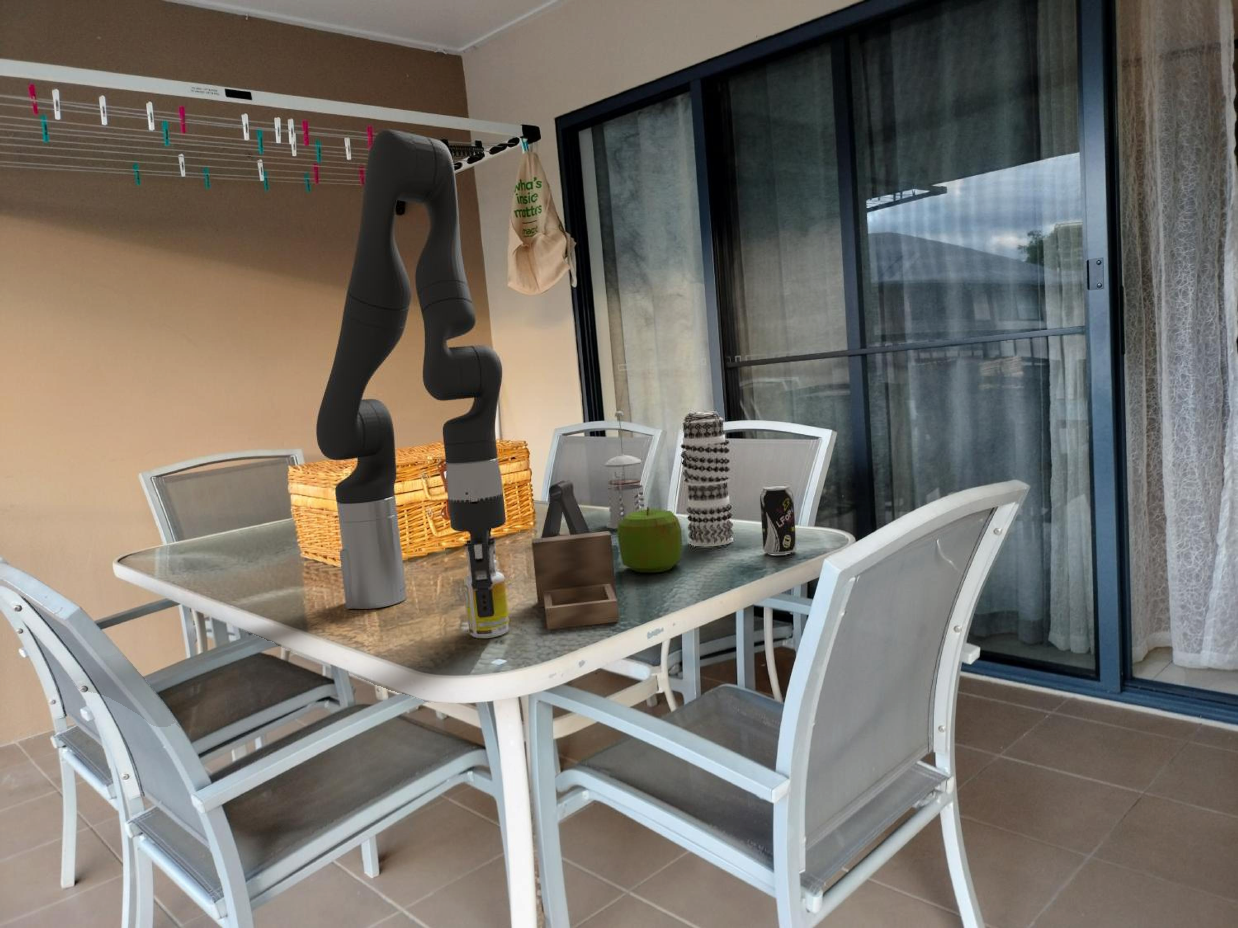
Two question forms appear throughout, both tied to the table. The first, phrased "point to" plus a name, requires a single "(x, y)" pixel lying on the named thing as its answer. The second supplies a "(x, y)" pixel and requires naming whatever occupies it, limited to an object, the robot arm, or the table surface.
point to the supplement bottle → (499, 620)
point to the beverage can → (778, 519)
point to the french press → (623, 488)
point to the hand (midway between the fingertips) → (487, 607)
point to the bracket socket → (576, 579)
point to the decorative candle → (706, 479)
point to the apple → (650, 540)
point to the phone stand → (563, 511)
